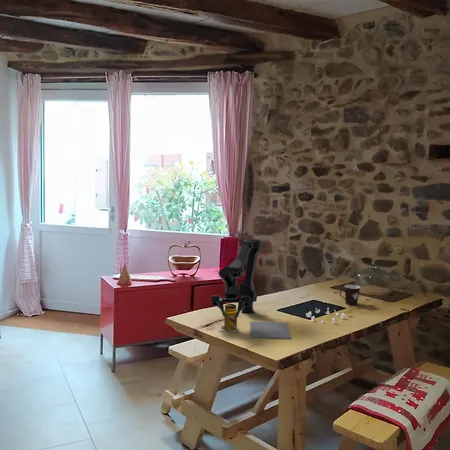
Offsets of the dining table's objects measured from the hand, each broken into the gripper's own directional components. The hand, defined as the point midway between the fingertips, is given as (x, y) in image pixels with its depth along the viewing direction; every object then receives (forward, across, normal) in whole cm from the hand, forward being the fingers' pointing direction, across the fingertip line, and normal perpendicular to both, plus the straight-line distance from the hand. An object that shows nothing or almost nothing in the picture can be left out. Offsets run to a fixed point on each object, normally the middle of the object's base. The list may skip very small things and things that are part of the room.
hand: (230, 316), depth 246 cm
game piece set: (-11, +49, +22) cm, 55 cm away
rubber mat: (+4, +19, +6) cm, 20 cm away
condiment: (+4, -1, +6) cm, 7 cm away
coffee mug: (-31, +67, +41) cm, 85 cm away
